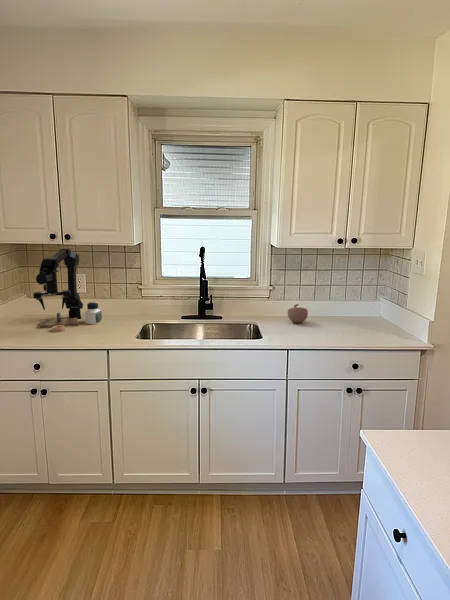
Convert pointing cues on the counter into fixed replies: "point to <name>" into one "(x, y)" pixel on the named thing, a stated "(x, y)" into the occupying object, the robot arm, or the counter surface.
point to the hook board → (58, 322)
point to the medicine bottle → (93, 314)
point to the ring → (58, 328)
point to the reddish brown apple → (297, 314)
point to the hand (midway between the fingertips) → (53, 309)
